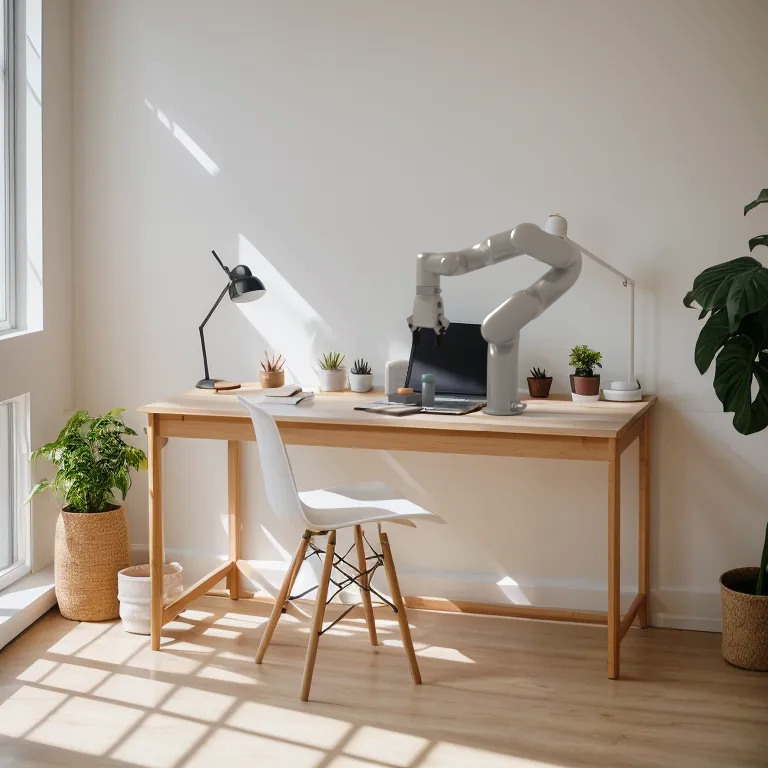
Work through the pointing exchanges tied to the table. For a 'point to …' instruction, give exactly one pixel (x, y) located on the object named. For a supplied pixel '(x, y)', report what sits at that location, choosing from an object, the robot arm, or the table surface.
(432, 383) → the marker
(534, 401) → the table surface
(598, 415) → the table surface
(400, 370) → the photo printer
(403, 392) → the button
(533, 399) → the table surface
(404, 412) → the board
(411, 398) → the button housing
